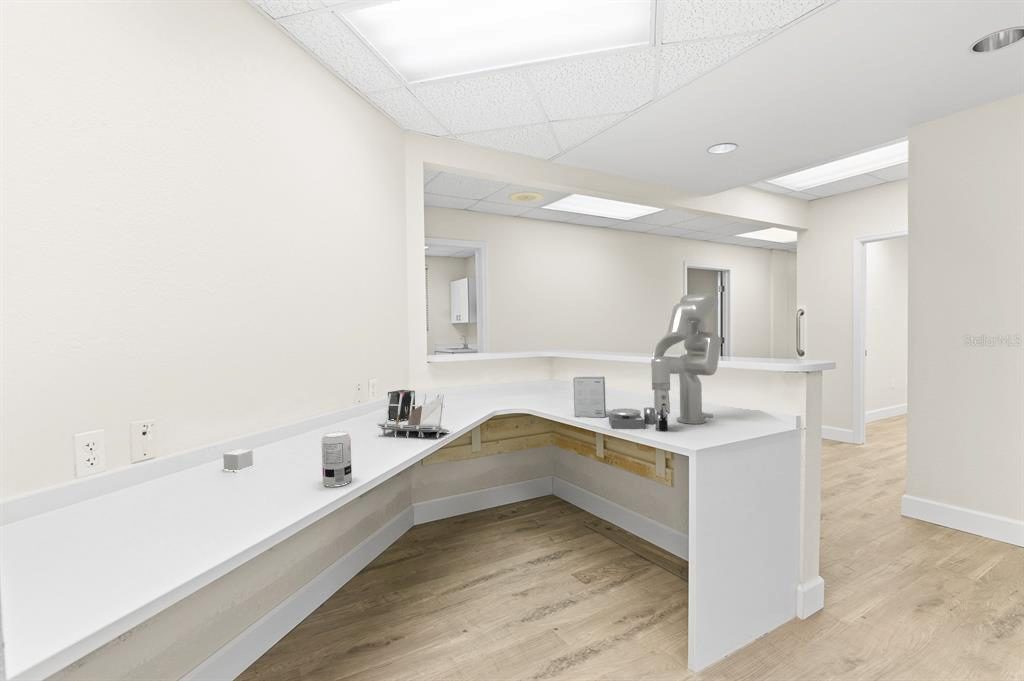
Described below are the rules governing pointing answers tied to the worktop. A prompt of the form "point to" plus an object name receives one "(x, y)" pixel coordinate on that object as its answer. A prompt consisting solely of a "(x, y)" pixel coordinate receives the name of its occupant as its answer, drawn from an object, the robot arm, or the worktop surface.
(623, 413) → the scale pan
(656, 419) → the cylinder
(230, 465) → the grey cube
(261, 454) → the worktop surface
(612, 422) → the scale body
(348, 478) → the supplement can
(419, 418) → the architectural model
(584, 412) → the hard drive box
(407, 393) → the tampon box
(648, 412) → the steel spacer
